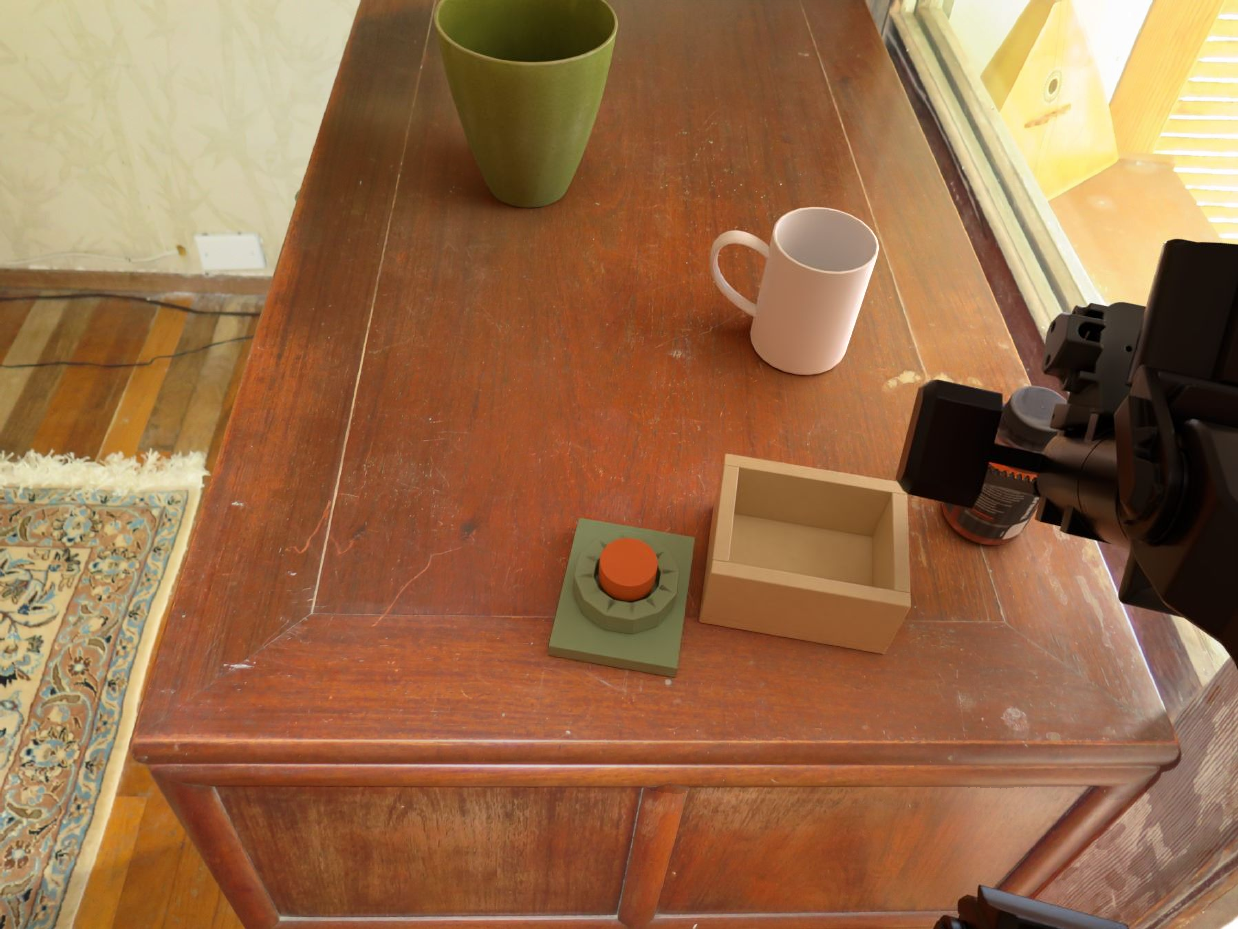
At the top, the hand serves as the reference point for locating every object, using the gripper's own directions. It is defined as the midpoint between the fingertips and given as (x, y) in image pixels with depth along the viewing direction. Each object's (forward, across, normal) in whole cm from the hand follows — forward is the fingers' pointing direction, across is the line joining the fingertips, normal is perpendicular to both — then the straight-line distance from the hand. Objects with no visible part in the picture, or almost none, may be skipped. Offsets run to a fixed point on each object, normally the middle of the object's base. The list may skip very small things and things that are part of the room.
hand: (1041, 462), depth 60 cm
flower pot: (+30, +42, -14) cm, 54 cm away
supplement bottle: (+11, 0, +5) cm, 12 cm away
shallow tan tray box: (+4, +12, +11) cm, 17 cm away
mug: (+20, +17, -5) cm, 27 cm away
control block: (+1, +23, +15) cm, 27 cm away
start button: (-1, +23, +13) cm, 26 cm away
